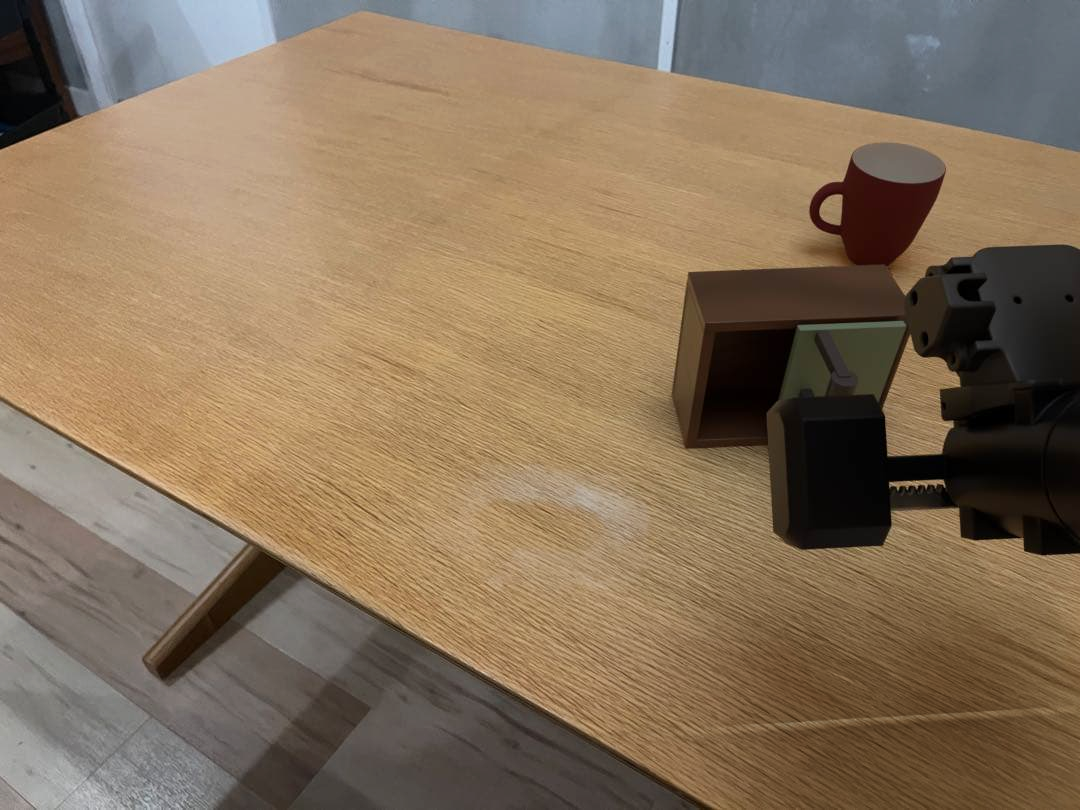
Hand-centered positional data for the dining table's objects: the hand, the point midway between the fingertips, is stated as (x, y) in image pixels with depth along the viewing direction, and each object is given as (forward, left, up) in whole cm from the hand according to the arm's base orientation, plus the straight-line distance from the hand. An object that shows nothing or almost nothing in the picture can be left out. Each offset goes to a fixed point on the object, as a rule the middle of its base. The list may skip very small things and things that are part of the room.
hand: (903, 458), depth 43 cm
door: (+10, +2, -12) cm, 16 cm away
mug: (+40, 0, -13) cm, 42 cm away
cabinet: (+15, +6, -13) cm, 21 cm away
